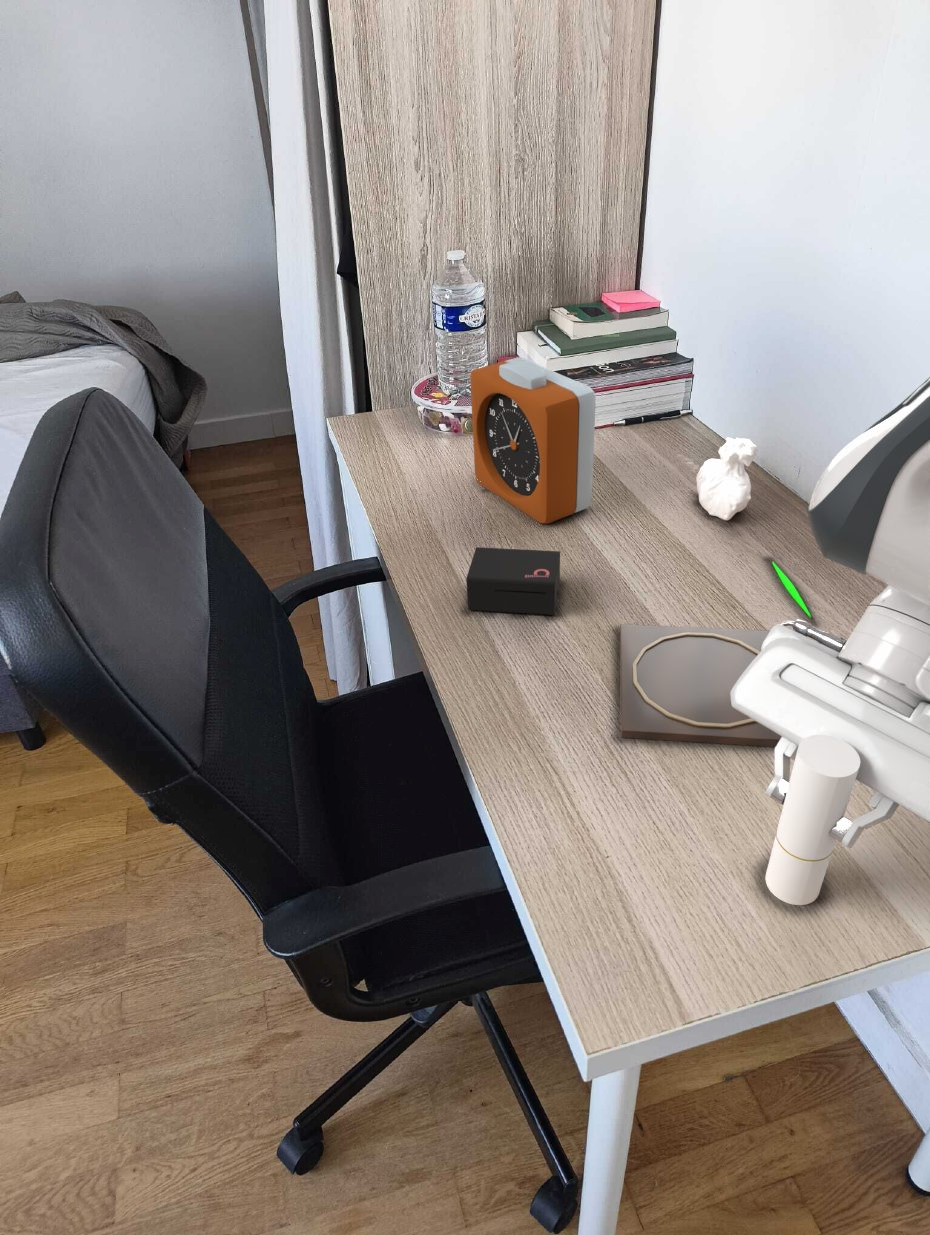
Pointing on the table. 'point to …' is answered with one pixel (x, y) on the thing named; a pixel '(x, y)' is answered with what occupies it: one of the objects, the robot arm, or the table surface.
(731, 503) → the white tied bag
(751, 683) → the robot arm
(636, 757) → the table surface
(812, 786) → the tube
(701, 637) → the board
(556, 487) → the alarm clock
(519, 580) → the electronic device
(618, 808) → the table surface
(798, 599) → the leaf
